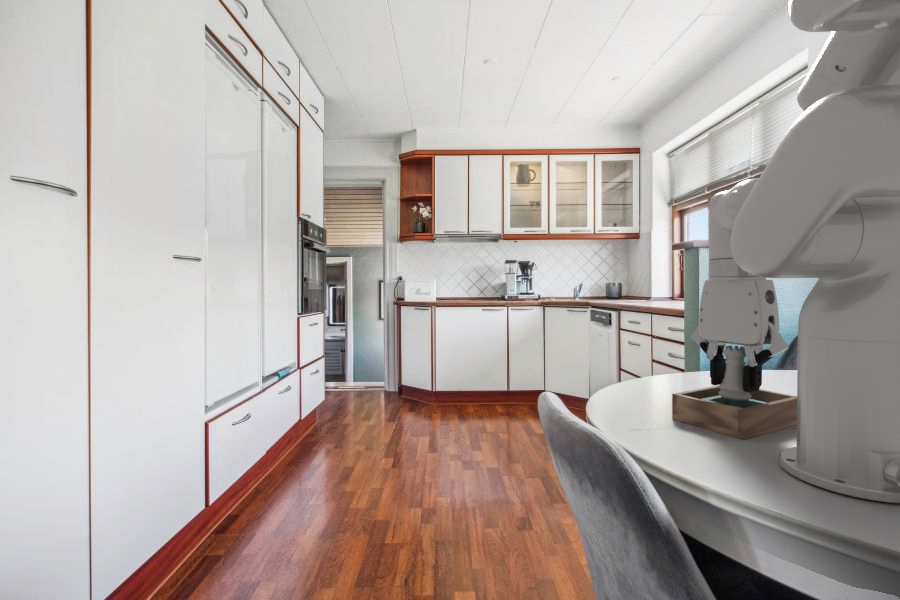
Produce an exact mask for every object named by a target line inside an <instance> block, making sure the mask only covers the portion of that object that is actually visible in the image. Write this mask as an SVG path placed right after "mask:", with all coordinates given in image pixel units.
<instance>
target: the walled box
mask: <svg viewBox="0 0 900 600" xmlns="http://www.w3.org/2000/svg"><path fill="white" fill-rule="evenodd" d="M719 391H721V390H720V388H719V385H711V386H707V387H704V388H703V387H702V388H696V389H692V390H686V391H681V392H676V393H672V395H671V397H672V400H671V406H672V407H671V408H672V409H671V417H672V418H671V419H672V420H675V421H679V422H682V423H685V424H689V425H692V426H695V427H699V428H703V429H706V430H709V431H713V432H715V433H718V434H719V433H721V434H723V435H727V436H730V437H734V438H736V439H740V440H744V441H745V440H748V439H752V438H754V437H759V436H762V435H765V434H768V433H769V434H770V433H773V432H775V431H779V430H783V429H786V428H790V427H792V426H797V395H792V394H787V393H783V392H782V393H781V392H777V391H771V390H766V389H761V388H760V389H759V390H758V391H753V392H749V394H750V395H751V398H750V399H749V400H745V401H738V400H730V399H725V398H723V397H721V396H720V395H719V393H718V392H719Z"/></svg>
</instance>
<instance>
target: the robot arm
mask: <svg viewBox="0 0 900 600" xmlns="http://www.w3.org/2000/svg"><path fill="white" fill-rule="evenodd" d="M788 14H789V19H790V21H791V23H792V25H793V26H794V27H796V28H797V29H798V30H800V31H803V32H808V33H824V32H825V33H830V32H831V33H830V35H829V37H828V38H827V40H826V42H825V44H824V46H823V48H822V50H821V51H820V53H819V55H818V57H817V58H816V60H815V62H814V63H813V64H812V66H811V68H810V70H809V72H808V73H807V75H806V77H805V79H804V81H803V82H802V84H801V86H800V87H799V89H798V91H797V96H796V101H797V103H798V106H799V107H800V108H801V109H802V111H803V112H802V113H801V114H800V116H798V118H797V119H796V120H795V121H794V122H793V123H792V125H791V126H790V127H789V129H788V131H787V132H786V133H785V135H784V136H783V138H782V139H781V141H780V142H779V144H778V146H777V147H776V149H775V151H774V153H773V154H772V156H771V158H770V160H769V161H768V162H767V164H766V166H765V167H764V168H763V169H764V170H763V171H762V173H761V174H760V175H759V177H756V178H755V177H753V178H748V179H745V180H743V181H741V182H738V183H737V184H735V186H733V187H732V188H731V189H729V190H724V191H720V192H717V193H716V194H714V195H713V196H712V197H711V198H710V201H709V207H708V208H709V209H708V211H709V215H708V218H709V222H708V277H707V278H708V279H707V280H704V283H703V286H702V290H701V297H700V300H699V301H700V303H699V304H700V305H699V312H698V325H697V326H696V328H695V329H694V331H693V332H692V334H691V335H690V339H691V340H692V341H693V342H695V344H696V345H698V346H699V347H700V349H701V350H702V351H703V353H704V354H706V355H705V356H706V359H707V360H709V377H710V383H711V386H718V385H720V384H721V383H722V380H723V379H724V376H725V371H726V363H725V361H726V358H724V356H725V354H724V353H723V352H724V351H725V350H726V346H728V345H727V344H729V345H730V344H731V345H736V346H743V347H744V349H745V353H746V357H745V358H746V361H747V362H746V364H745V365H744V367H743V390H744V391H745V392H753V391H758V390H759V389H761V386H762V385H763V366H764V365H766V364H767V362H768V361H770V360H771V359H772V358H774V357H775V356H777V355H779V354H781V353H783V352H786V351H787V350H788V349H789V347H790V346H789V344H788V342H787V341H786V340H785V339H784V337H783V336H782V334H781V332H780V316H779V306H778V304H779V303H778V296H777V292H776V288H775V284H774V281H773V279H817V281H816V282H815V284H814V286H813V287H812V288H811V290H810V292H809V293H808V295H807V296H806V298H805V299H804V302H803V304H802V305H801V309H800V311H799V315H798V321H797V323H798V324H797V377H796V378H797V379H796V380H797V381H796V384H797V387H796V388H797V389H796V391H797V392H796V396H797V425H796V446H794V447H793V446H792V447H789V448H788V447H787V448H786V449H783V450H782V451H781V452H780V453H779V464H780V467H782V469H784V470H785V471H786V472H787V473H789V474H790V475H792V476H793V477H795V478H797V479H800V481H801V480H802V481H804V482H806V483H807V484H811V485H812V486H813V485H814V486H816V487H819V488H822V489H824V490H828V491H831V492H835V493H837V494H840V495H845V496H849V497H853V498H859V499H864V500H869V501H874V502H876V501H877V502H883V503H893V504H900V0H789V1H788ZM764 345H770V346H768V347H767V348H764Z"/></svg>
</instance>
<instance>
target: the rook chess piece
mask: <svg viewBox="0 0 900 600" xmlns="http://www.w3.org/2000/svg"><path fill="white" fill-rule="evenodd" d="M739 346H740V347H739ZM723 353H724V356H725V357H726V358H725V359H726V361H725V363H726V371H725V376H724V379H723V380H722V383H721V384H720V385H719V388H720V390H721V391H719V392H718V393H719V395H720V396H721V397H723V398H725V399H730V400H738V401H745V400H749V399H750V398H751V395H750V394H749V392H745V391H744V390H743V367H744V366H746V365H747V362H746V361H745V358H746V353H745V349H744V346H743V345H734V347H733V346H732V345H726V349H725V351H724V352H723Z"/></svg>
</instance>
